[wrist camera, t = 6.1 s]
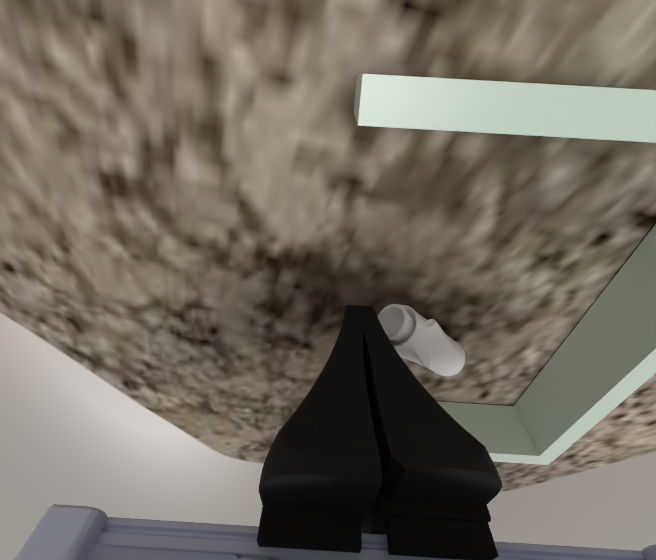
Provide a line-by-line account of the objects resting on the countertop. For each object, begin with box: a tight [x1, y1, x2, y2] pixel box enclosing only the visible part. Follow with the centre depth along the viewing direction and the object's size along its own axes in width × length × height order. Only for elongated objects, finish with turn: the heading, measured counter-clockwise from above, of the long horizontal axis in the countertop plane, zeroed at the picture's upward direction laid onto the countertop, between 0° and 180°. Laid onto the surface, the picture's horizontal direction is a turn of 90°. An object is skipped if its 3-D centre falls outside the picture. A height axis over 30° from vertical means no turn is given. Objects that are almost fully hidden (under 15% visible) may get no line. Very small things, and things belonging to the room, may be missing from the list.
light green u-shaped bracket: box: [354, 74, 656, 465], centre depth 13 cm, size 18×13×3 cm
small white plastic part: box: [378, 304, 465, 376], centre depth 13 cm, size 4×6×3 cm, turn 21°
